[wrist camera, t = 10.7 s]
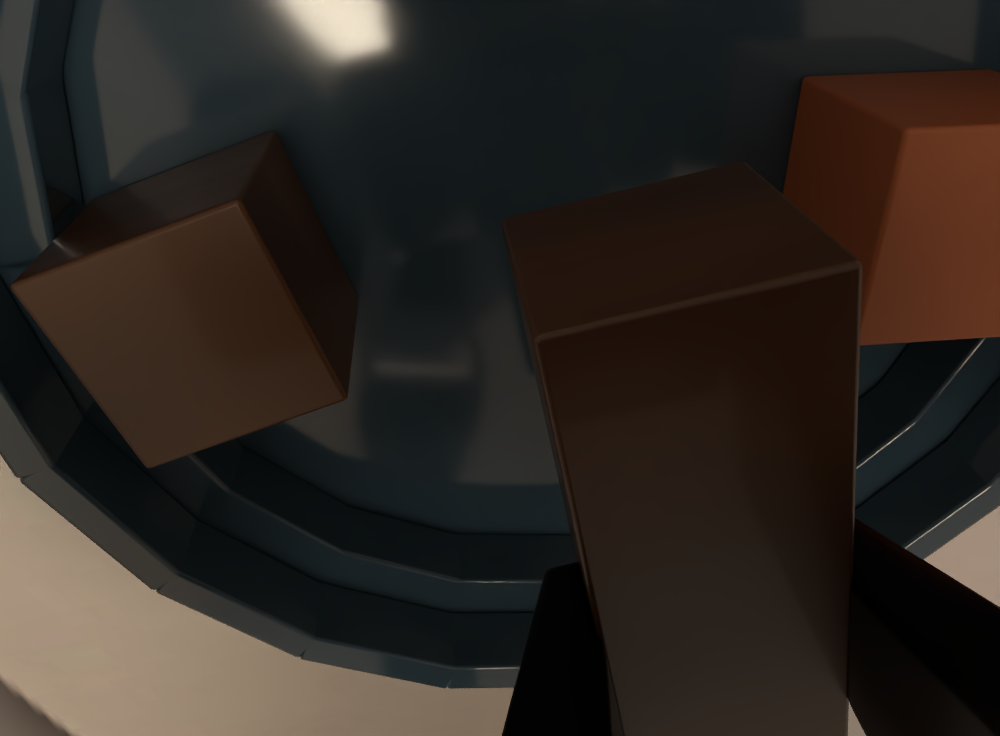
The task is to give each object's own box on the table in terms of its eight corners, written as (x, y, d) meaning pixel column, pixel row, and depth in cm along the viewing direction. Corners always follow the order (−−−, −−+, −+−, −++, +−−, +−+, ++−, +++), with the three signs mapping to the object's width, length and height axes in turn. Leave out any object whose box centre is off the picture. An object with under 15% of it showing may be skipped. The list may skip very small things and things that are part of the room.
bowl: (1016, 460, 17) (1128, 569, 15) (245, 635, 18) (216, 771, 15) (1226, -804, 8) (1616, -1126, 6) (-338, -388, 9) (-665, -503, 6)
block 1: (360, 300, 13) (349, 401, 11) (195, 359, 14) (146, 472, 11) (275, 128, 12) (238, 197, 9) (90, 199, 12) (6, 286, 10)
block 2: (938, 251, 14) (1058, 335, 11) (769, 259, 14) (852, 348, 11) (991, 68, 12) (1143, 118, 10) (801, 75, 12) (906, 128, 10)
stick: (771, 680, 12) (846, 847, 10) (612, 716, 12) (653, 888, 10) (744, 158, 8) (866, 260, 6) (498, 217, 8) (531, 338, 6)
